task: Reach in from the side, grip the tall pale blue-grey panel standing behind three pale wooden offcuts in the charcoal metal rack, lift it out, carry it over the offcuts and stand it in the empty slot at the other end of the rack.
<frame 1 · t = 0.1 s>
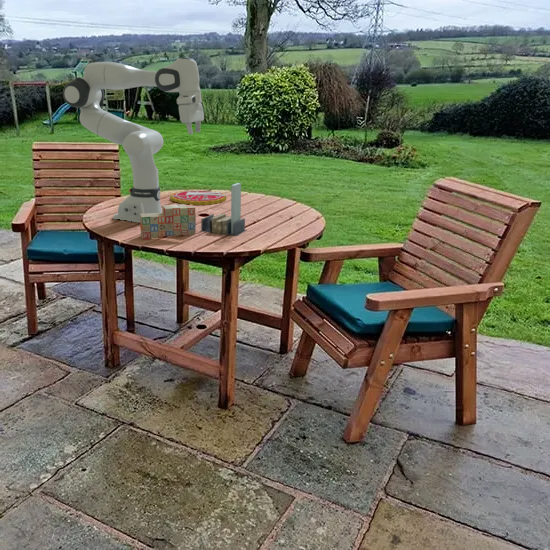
hand: (194, 133, 225), 39 cm above the table, tool pointing down, fingers open, 8 cm apart
stack of blocks: (168, 236, 215), on the table
tall panel: (235, 232, 220), point 1 cm above the table, touching slot rack
offcut c: (228, 231, 221), point 1 cm above the table, touching slot rack
offcut b: (223, 230, 222), point 1 cm above the table, touching slot rack
decorative sign: (198, 200, 285), on the table
slot rack: (223, 232, 222), on the table
offcut a: (218, 229, 223), point 1 cm above the table, touching slot rack
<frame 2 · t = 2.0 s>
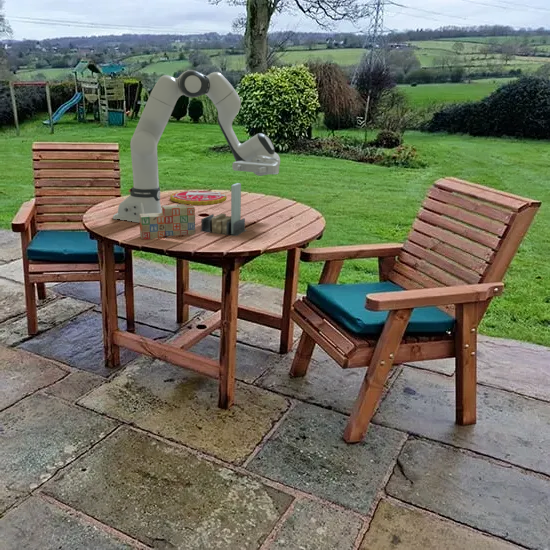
hand: (248, 169, 223), 25 cm above the table, tool horizontal, fingers open, 8 cm apart
nothing on the table moved.
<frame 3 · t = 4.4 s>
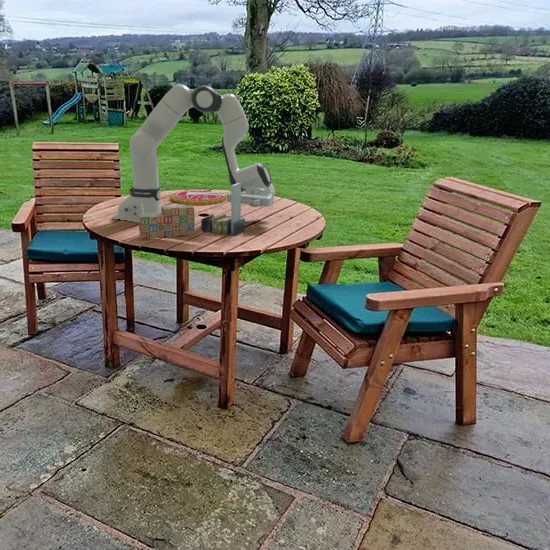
hand: (242, 202, 222), 12 cm above the table, tool horizontal, fingers open, 8 cm apart
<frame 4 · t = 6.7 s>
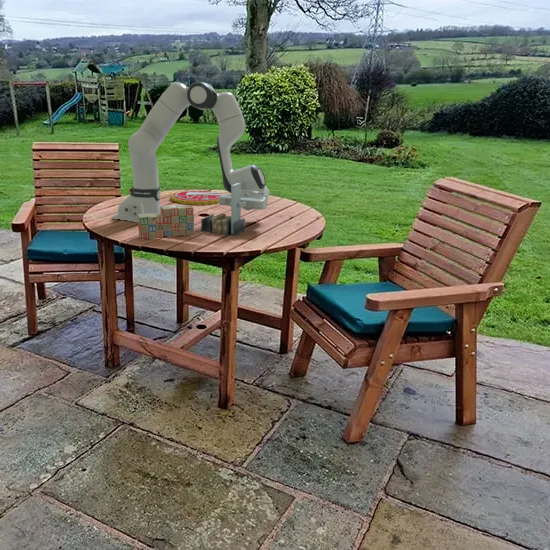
hand: (235, 205, 216), 13 cm above the table, tool horizontal, fingers closed on tall panel, 1 cm apart
tall panel: (235, 232, 220), point 1 cm above the table, touching gripper, slot rack
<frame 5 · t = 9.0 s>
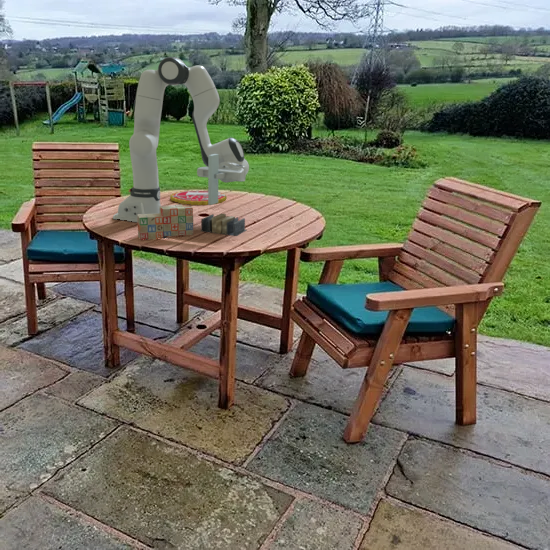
hand: (212, 176, 215), 24 cm above the table, tool horizontal, fingers closed on tall panel
tall panel: (213, 203, 220), point 12 cm above the table, touching gripper
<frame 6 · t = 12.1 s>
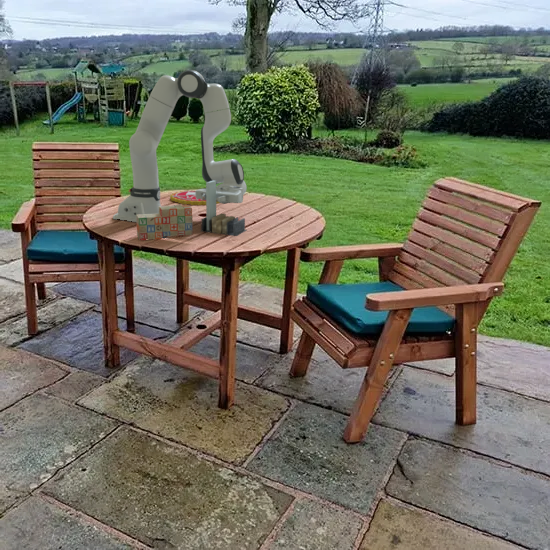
hand: (210, 198, 219), 14 cm above the table, tool horizontal, fingers open, 5 cm apart
tall panel: (211, 228, 224), point 1 cm above the table, touching slot rack
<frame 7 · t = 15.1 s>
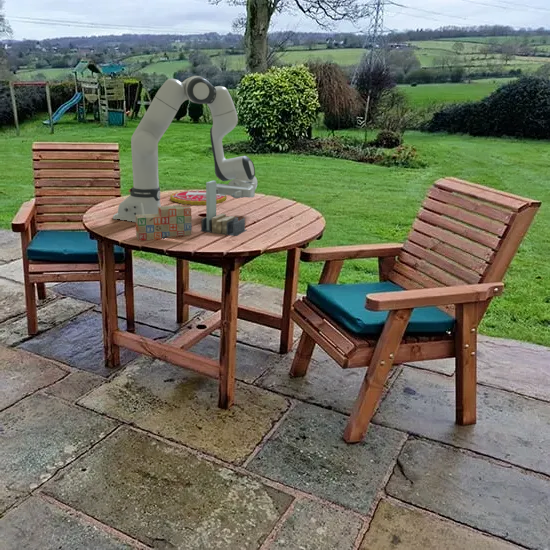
hand: (224, 193, 230), 14 cm above the table, tool horizontal, fingers open, 8 cm apart
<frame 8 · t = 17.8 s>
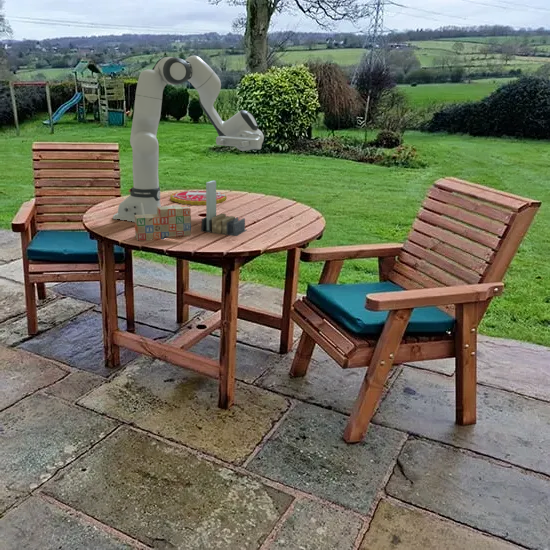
hand: (231, 143, 228), 35 cm above the table, tool horizontal, fingers open, 8 cm apart
at the end: tall panel 0.0 cm from the target spot on the slot rack, point 1.0 cm above the slot rack's base; tall panel tilted 0°; offcut b moved 0.0 cm from its start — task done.
